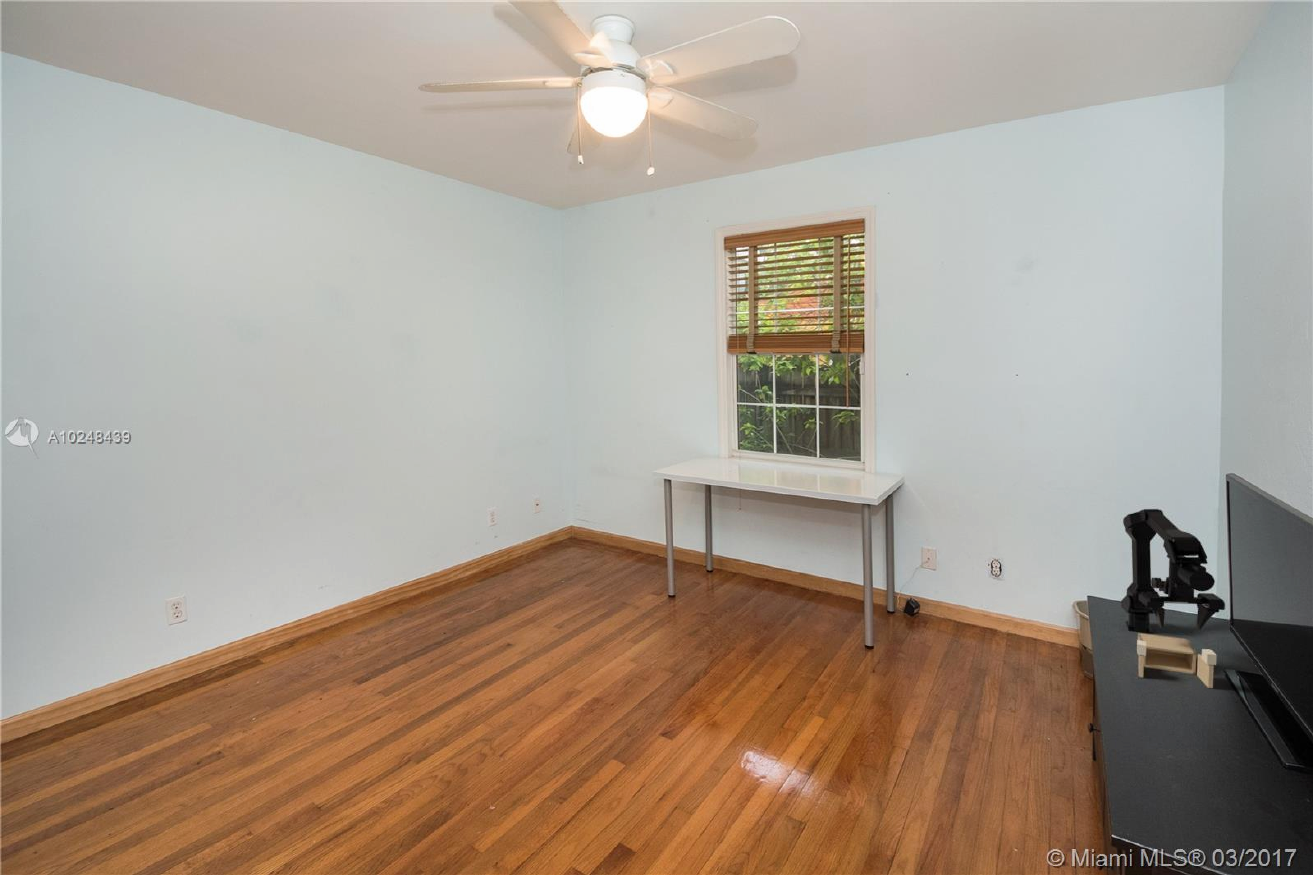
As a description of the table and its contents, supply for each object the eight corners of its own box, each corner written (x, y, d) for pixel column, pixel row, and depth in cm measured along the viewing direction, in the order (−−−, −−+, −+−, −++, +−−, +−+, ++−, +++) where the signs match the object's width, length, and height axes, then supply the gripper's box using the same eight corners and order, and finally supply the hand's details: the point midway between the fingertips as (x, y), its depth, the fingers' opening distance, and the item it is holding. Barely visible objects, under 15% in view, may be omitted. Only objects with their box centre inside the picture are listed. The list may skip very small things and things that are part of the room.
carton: (1137, 652, 187) (1137, 632, 187) (1187, 659, 181) (1188, 639, 180) (1142, 666, 180) (1143, 645, 179) (1195, 674, 174) (1196, 653, 173)
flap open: (1206, 687, 167) (1207, 654, 165) (1194, 675, 173) (1196, 643, 171) (1215, 688, 166) (1216, 654, 165) (1203, 676, 172) (1204, 643, 171)
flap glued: (1145, 667, 179) (1145, 636, 177) (1145, 678, 174) (1146, 646, 172) (1136, 666, 180) (1137, 635, 178) (1136, 676, 175) (1137, 644, 173)
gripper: (1204, 568, 180) (1202, 617, 182) (1130, 567, 185) (1129, 614, 187) (1227, 582, 169) (1225, 634, 171) (1148, 580, 175) (1147, 631, 177)
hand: (1179, 627), depth 177 cm, fingers open, 9 cm apart
